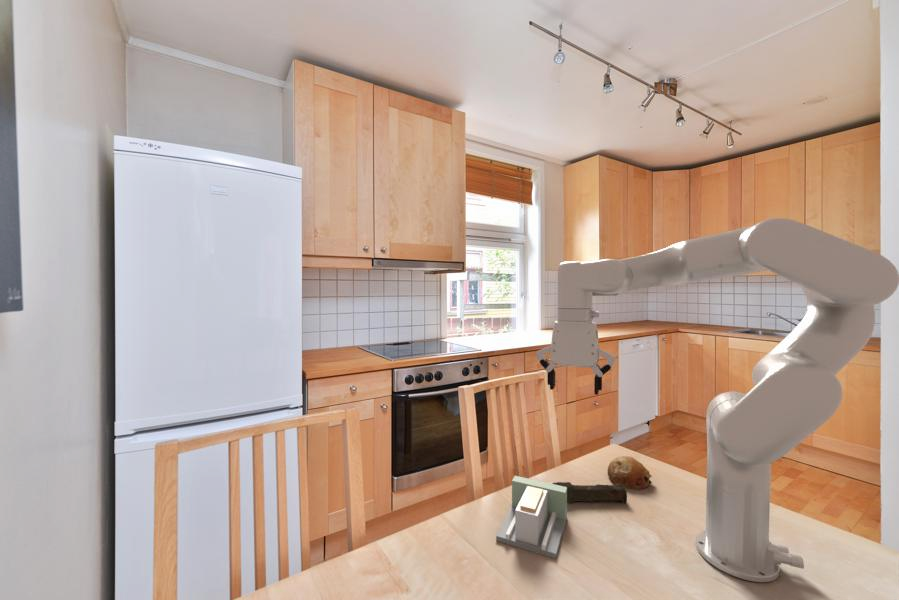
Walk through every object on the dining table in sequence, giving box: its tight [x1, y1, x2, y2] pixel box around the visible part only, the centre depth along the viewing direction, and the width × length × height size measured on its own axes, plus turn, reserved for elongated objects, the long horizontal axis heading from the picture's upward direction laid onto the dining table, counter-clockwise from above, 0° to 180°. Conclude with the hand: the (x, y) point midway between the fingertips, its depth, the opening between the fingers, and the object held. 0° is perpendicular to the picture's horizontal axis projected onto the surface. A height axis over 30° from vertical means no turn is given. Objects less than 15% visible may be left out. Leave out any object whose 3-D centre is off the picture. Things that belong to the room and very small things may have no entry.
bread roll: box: [607, 455, 653, 490], centre depth 100 cm, size 10×10×8 cm
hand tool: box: [552, 481, 628, 505], centre depth 91 cm, size 19×4×5 cm, turn 88°
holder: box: [515, 486, 548, 546], centre depth 79 cm, size 4×10×7 cm, turn 154°
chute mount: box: [495, 475, 568, 559], centre depth 80 cm, size 12×14×7 cm
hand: (574, 390), depth 85 cm, fingers open, 9 cm apart
